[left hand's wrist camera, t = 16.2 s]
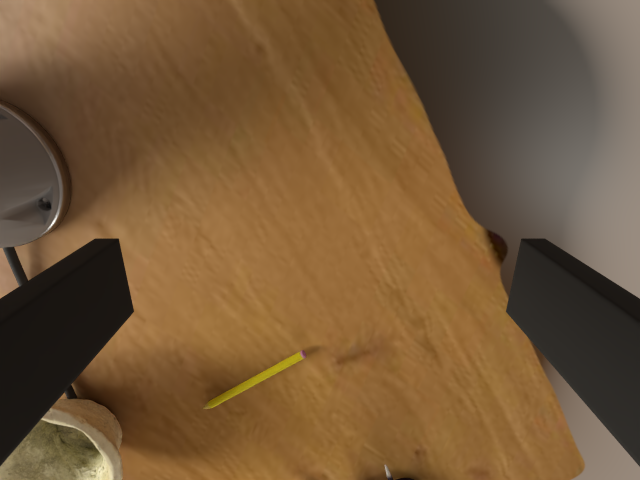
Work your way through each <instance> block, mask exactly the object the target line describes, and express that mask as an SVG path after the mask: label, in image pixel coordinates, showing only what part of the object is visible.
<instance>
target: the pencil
mask: <svg viewBox="0 0 640 480" xmlns="http://www.w3.org/2000/svg"><path fill="white" fill-rule="evenodd" d="M304 358H306V354H305V352H304V351H303V350H302V351H300V352H298V353H296V354H294V355H293V356H291V357H289V358H287V359H285V360H283V361H281V362H280V363H278V364H276V365H274V366H272V367H270V368H269V369H267V370H265V371H263V372H261V373H259V374H258V375H256V376H254V377H252V378H250V379H248V380H247V381H245V382H243V383H241V384H239V385H237V386H236V387H234V388H232V389H230V390H228V391H226V392H225V393H223V394H221V395H219V396H217V397H215V398H214V399H212V400H210V401H208V403H207V404H206V405H205V406H204V407H203V408H202V409H209V408H213V407H215V406H217V405H218V404H220V403H222V402H224V401H226V400H228V399H230V398H231V397H233V396H235V395H237V394H239V393H241V392H243V391H244V390H246V389H248V388H250V387H252V386H254V385H256V384H257V383H259V382H261V381H263V380H265V379H267V378H269V377H270V376H272V375H274V374H276V373H278V372H280V371H282V370H283V369H285V368H287V367H289V366H291V365H293V364H295V363H296V362H298V361H300V360H302V359H304Z"/></svg>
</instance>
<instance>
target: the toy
mask: <svg viewBox="0 0 640 480" xmlns="http://www.w3.org/2000/svg"><path fill="white" fill-rule="evenodd" d="M385 470H386V474H387V478H388V480H393V478H392V476H391V474H390V471H389V469H388V467H387V466H386V464H385ZM396 480H414V479H411V478H400V479H396Z"/></svg>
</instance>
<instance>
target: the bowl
mask: <svg viewBox="0 0 640 480" xmlns="http://www.w3.org/2000/svg"><path fill="white" fill-rule="evenodd" d="M121 442H122V429H121V426H120V424H119V422H118V421H117V420H116V417H115V416H114V414H112V413H111V412H110V411H109V410H108V409H107V408H106V407H105V406H102V405H100V404H97V403H95V402H94V401H91V400H86V399H85V400H83V399H62V400H57V401H56V403H55V404H54V405H53V406H52V407H51V408H50V409H49V411H48V412H47V413H46V414H45V415H44V416H43V418H42V419H41V420H40V421H39V422H38V423H37V425H36V426H35V427H34V428H33V429H32V430H31V431H30V433H29V434H28V435H27V436H26V437H25V438H24V440H23V441H22V442H21V443H20V444H19V445H18V447H17V448H16V449H15V450H14V451H13V452H12V453H11V455H10V456H9V457H8V458H7V459H6V460H5V462H4V463H3V464H2V465H1V466H0V480H122V478H123V468H122V459H121V455H120V453H119V448H120V444H121Z"/></svg>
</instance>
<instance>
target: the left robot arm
mask: <svg viewBox="0 0 640 480" xmlns="http://www.w3.org/2000/svg"><path fill="white" fill-rule="evenodd" d="M70 198H71V181H70V175H69V171H68V168H67V165H66V162H65V160H64V158H63V156H62V153H61V152H60V150H59V148H58V146H57V145H56V143H55V142H54V141H53V139H52V138H51V137H50V135H49V134H48V133H47V132H46V131H45V130H44V129H43V127H42V126H41V125H39V124H38V123H37V122H36V121H35V120H34V119H33V118H31V117H30V116H29V115H27V114H26V113H25V112H23V111H22V110H20V109H18V108H16V107H15V106H13V105H11V104H9V103H6V102H4V101H1V100H0V248H3V250H4V252H5V255H6V257H7V260H8V262H9V264H10V267H11V269H12V271H13V273H14V275H15V278H16V280H17V282H18V284H19V287H18V288H16V289H15V290H13V291H12V292H10V293H9V294H7V295H5V296H4V297H2V298H1V299H0V466H1V465H2V464H3V463H4V462H5V460H6V459H7V458H8V457H9V456H10V455H11V453H12V452H13V451H14V450H15V449H16V448H17V447H18V445H19V444H20V443H21V442H22V441H23V440H24V438H25V437H26V436H27V435H28V434H29V433H30V431H31V430H32V429H33V428H34V427H35V426H36V425H37V423H38V422H39V421H40V420H41V419H42V418H43V416H44V415H45V414H46V413H47V412H48V411H49V409H50V408H51V407H52V406H53V405H54V404H55V403H56V401H57V400H58V399H59V398H60V397H61V396H62V394H63V393H64V392H65V394H66V396H67V398H68V399H77V396H76V394H75V392H74V390H73V387H72V385H71V384H72V383H73V382H74V381H75V379H76V378H77V377H78V376H79V375H80V374H81V372H82V371H83V370H84V369H85V368H86V367H87V365H88V364H89V363H90V362H91V361H92V360H93V359H94V357H95V356H96V355H97V354H98V353H99V352H100V350H101V349H102V348H103V347H104V346H105V345H106V343H107V342H108V341H109V340H110V339H111V338H112V337H113V335H114V334H115V333H116V332H117V331H118V330H119V328H120V327H121V326H122V325H123V324H124V323H125V321H126V320H127V319H128V318H129V317H130V316H131V314H132V313H133V312H134V309H133V305H132V300H131V295H130V290H129V286H128V281H127V276H126V271H125V267H124V262H123V257H122V252H121V248H120V243H119V239H94V240H92V241H91V242H89V243H87V244H86V245H84V246H83V247H81V248H80V249H78V250H76V251H75V252H73V253H72V254H70V255H69V256H67V257H65V258H64V259H62V260H61V261H59V262H58V263H56V264H54V265H53V266H51V267H50V268H48V269H46V270H45V271H43V272H42V273H40V274H39V275H37V276H35V277H34V278H32V279H31V280H29V281H28V279H27V277H26V275H25V272H24V270H23V268H22V266H21V263H20V261H19V258H18V256H17V253H16V251H15V248H14V246H20V245H24V244H27V243H30V242H32V241H34V240H36V239H38V238H40V237H42V236H44V235H46V234H48V233H49V232H51V231H52V230H53V229H55V228H56V227H57V226H58V225H59V224H60V222H61V221H62V220H63V218H64V216H65V215H66V213H67V210H68V207H69V204H70ZM506 312H507V313H508V314H509V316H510V317H511V318H512V319H513V320H514V321H515V323H516V324H517V325H518V326H519V327H520V328H521V330H522V331H523V332H524V333H525V334H526V335H527V337H528V338H529V339H530V340H531V341H532V342H533V343H534V345H535V346H536V347H537V348H538V349H539V350H540V352H541V353H542V354H543V355H544V356H545V357H546V359H547V360H548V361H549V362H550V363H551V364H552V365H553V367H554V368H555V369H556V370H557V371H558V372H559V374H560V375H561V376H562V377H563V378H564V379H565V381H566V382H567V383H568V384H569V385H570V386H571V387H572V389H573V390H574V391H575V392H576V393H577V394H578V396H579V397H580V398H581V399H582V400H583V401H584V402H585V404H586V405H587V406H588V407H589V408H590V409H591V411H592V412H593V413H594V414H595V415H596V416H597V418H598V419H599V420H600V421H601V422H602V423H603V425H604V426H605V427H606V428H607V429H608V430H609V431H610V433H611V434H612V435H613V436H614V437H615V438H616V440H617V441H618V442H619V443H620V444H621V445H622V446H623V448H624V449H625V450H626V451H627V452H628V453H629V455H630V456H631V457H632V458H633V459H634V460H635V462H636V463H637V464H638V465H639V466H640V299H639V298H638V297H636V296H635V295H633V294H631V293H630V292H628V291H627V290H625V289H623V288H622V287H620V286H619V285H617V284H616V283H614V282H612V281H611V280H609V279H608V278H606V277H605V276H603V275H601V274H600V273H598V272H597V271H595V270H593V269H592V268H590V267H589V266H587V265H586V264H584V263H582V262H581V261H579V260H578V259H576V258H575V257H573V256H571V255H570V254H568V253H567V252H565V251H563V250H562V249H560V248H559V247H557V246H556V245H554V244H553V243H551V242H549V241H548V240H546V239H521V243H520V248H519V252H518V257H517V262H516V267H515V271H514V276H513V281H512V286H511V291H510V295H509V300H508V305H507V309H506Z"/></svg>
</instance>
